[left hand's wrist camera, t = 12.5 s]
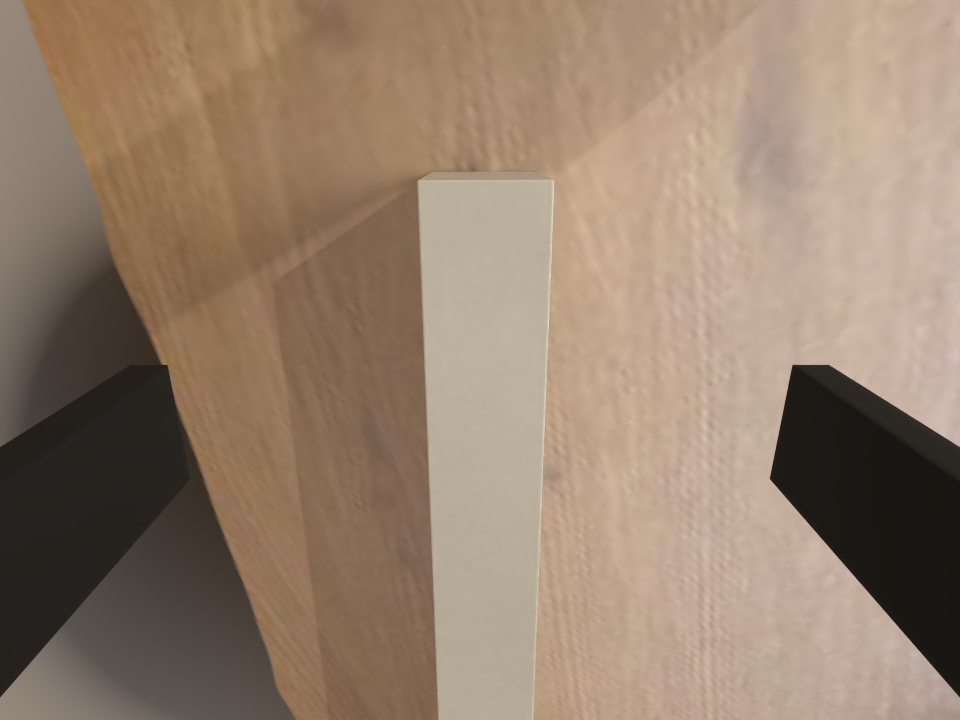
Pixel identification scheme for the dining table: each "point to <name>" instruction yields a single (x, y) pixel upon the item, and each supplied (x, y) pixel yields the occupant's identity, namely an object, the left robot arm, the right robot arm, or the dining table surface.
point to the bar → (485, 429)
